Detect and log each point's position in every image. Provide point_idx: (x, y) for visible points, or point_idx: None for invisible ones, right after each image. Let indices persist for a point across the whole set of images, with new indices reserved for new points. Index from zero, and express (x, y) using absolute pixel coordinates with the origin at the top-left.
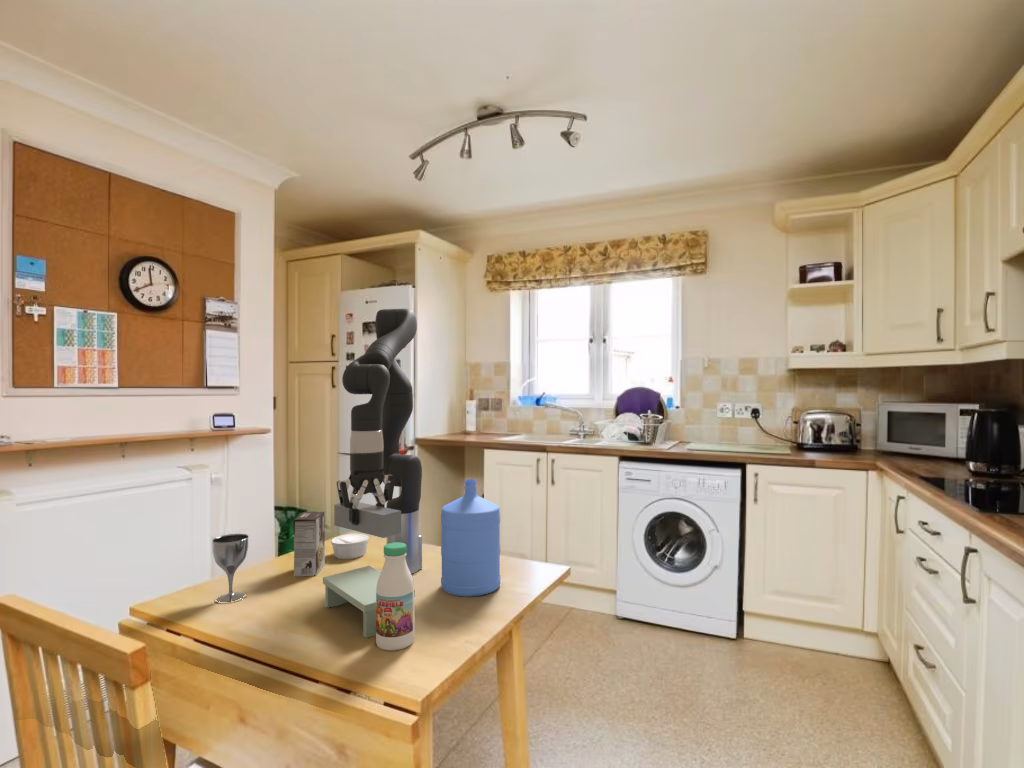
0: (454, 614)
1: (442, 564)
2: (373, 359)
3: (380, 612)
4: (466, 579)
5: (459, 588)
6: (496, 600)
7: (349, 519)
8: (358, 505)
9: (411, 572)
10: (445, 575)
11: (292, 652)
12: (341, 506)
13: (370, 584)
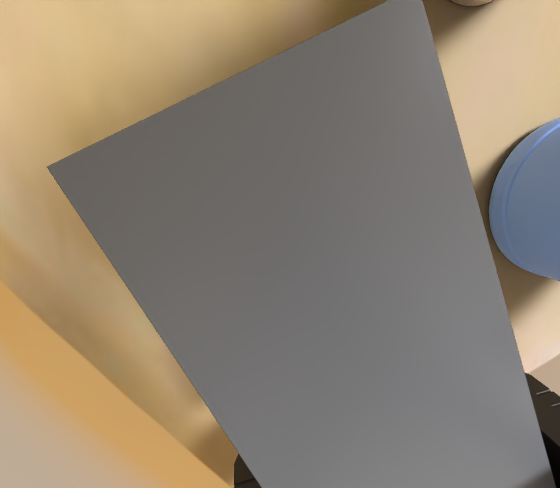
0: None
1: (552, 194)
2: None
3: None
4: (547, 275)
5: (514, 257)
6: (546, 301)
7: (237, 478)
8: (395, 404)
9: (484, 2)
10: (523, 217)
11: (105, 353)
12: (168, 341)
13: None
